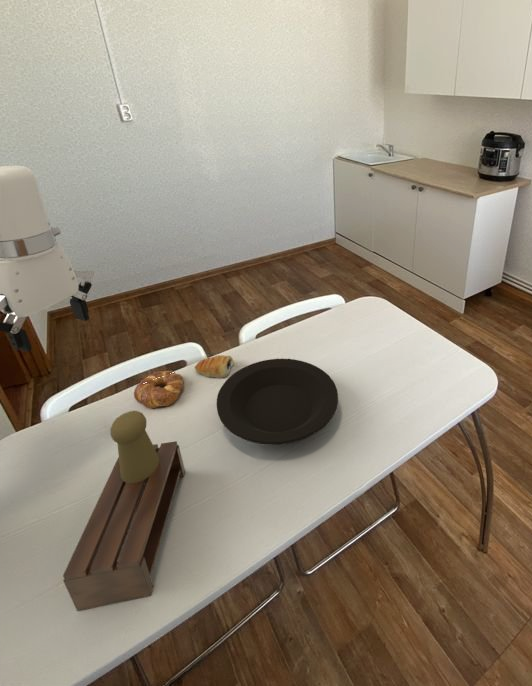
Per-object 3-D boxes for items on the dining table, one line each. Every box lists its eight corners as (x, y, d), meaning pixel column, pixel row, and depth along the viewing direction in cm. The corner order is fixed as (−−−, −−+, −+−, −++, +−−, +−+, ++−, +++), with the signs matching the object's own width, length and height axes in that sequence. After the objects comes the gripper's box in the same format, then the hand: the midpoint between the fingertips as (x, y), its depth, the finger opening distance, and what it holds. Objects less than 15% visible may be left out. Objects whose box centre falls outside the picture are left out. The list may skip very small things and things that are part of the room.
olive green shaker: (124, 458, 69) (109, 410, 65) (161, 447, 71) (149, 400, 67) (117, 488, 64) (100, 439, 60) (157, 476, 65) (144, 427, 62)
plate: (194, 432, 83) (190, 412, 81) (263, 365, 104) (261, 348, 102) (302, 483, 72) (300, 462, 70) (356, 396, 92) (356, 378, 90)
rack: (76, 611, 55) (60, 576, 52) (130, 480, 73) (120, 449, 71) (151, 595, 56) (139, 561, 54) (185, 471, 75) (178, 440, 72)
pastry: (191, 379, 99) (189, 367, 98) (201, 362, 105) (199, 350, 104) (227, 378, 99) (225, 366, 98) (235, 361, 105) (233, 350, 104)
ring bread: (193, 394, 94) (190, 382, 93) (145, 419, 87) (141, 407, 86) (175, 370, 102) (173, 359, 101) (130, 392, 95) (127, 380, 94)
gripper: (65, 224, 71) (88, 305, 77) (-58, 261, 56) (-18, 358, 61) (93, 229, 68) (115, 312, 74) (-28, 268, 53) (11, 369, 59)
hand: (55, 333), depth 68 cm, fingers open, 9 cm apart
